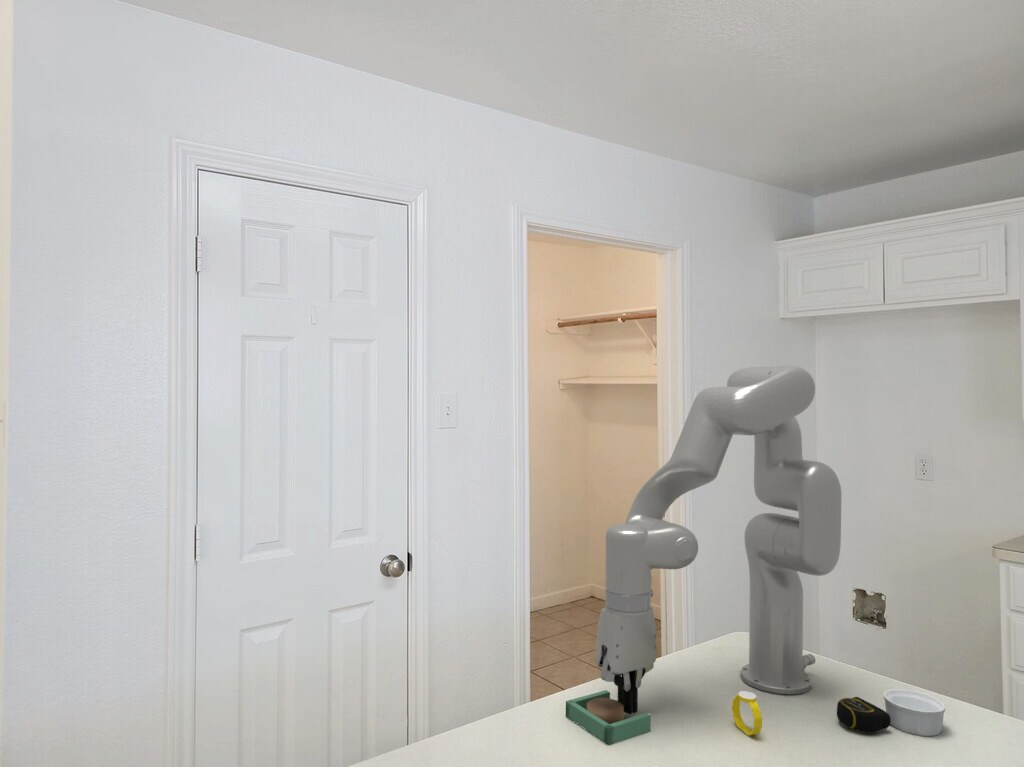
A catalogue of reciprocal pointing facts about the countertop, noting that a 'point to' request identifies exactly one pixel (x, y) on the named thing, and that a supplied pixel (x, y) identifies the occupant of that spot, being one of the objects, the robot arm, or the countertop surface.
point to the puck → (606, 709)
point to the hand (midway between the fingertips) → (627, 710)
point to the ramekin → (914, 712)
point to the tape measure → (862, 715)
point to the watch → (751, 700)
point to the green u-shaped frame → (600, 728)
